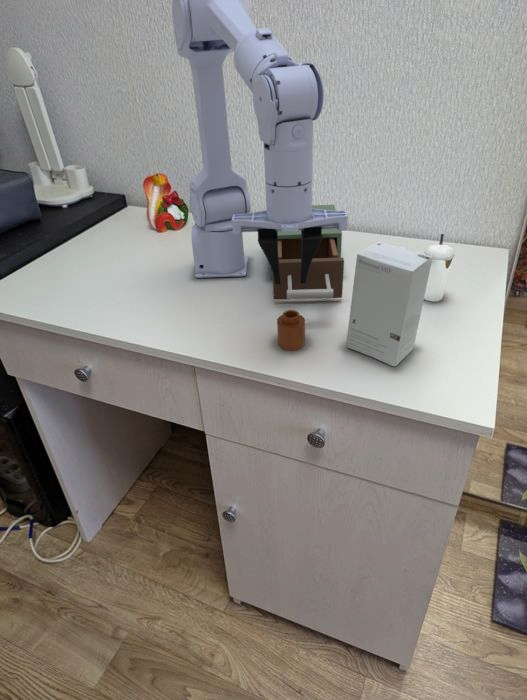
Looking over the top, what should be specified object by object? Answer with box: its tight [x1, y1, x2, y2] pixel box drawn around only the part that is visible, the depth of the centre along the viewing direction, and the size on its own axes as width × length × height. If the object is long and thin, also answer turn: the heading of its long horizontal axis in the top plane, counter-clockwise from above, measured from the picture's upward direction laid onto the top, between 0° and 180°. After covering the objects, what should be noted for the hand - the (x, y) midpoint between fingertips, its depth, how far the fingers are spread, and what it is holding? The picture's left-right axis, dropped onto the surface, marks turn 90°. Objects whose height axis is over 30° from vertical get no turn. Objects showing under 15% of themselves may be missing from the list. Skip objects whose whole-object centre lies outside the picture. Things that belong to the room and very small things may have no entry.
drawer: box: [272, 237, 345, 301], centre depth 83 cm, size 20×11×7 cm, turn 179°
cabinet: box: [270, 204, 343, 281], centre depth 94 cm, size 15×13×9 cm
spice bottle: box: [276, 309, 306, 352], centre depth 72 cm, size 4×4×5 cm
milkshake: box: [424, 232, 456, 303], centre depth 80 cm, size 4×5×10 cm
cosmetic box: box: [346, 240, 433, 367], centre depth 67 cm, size 8×6×15 cm
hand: (290, 280), depth 67 cm, fingers open, 3 cm apart
